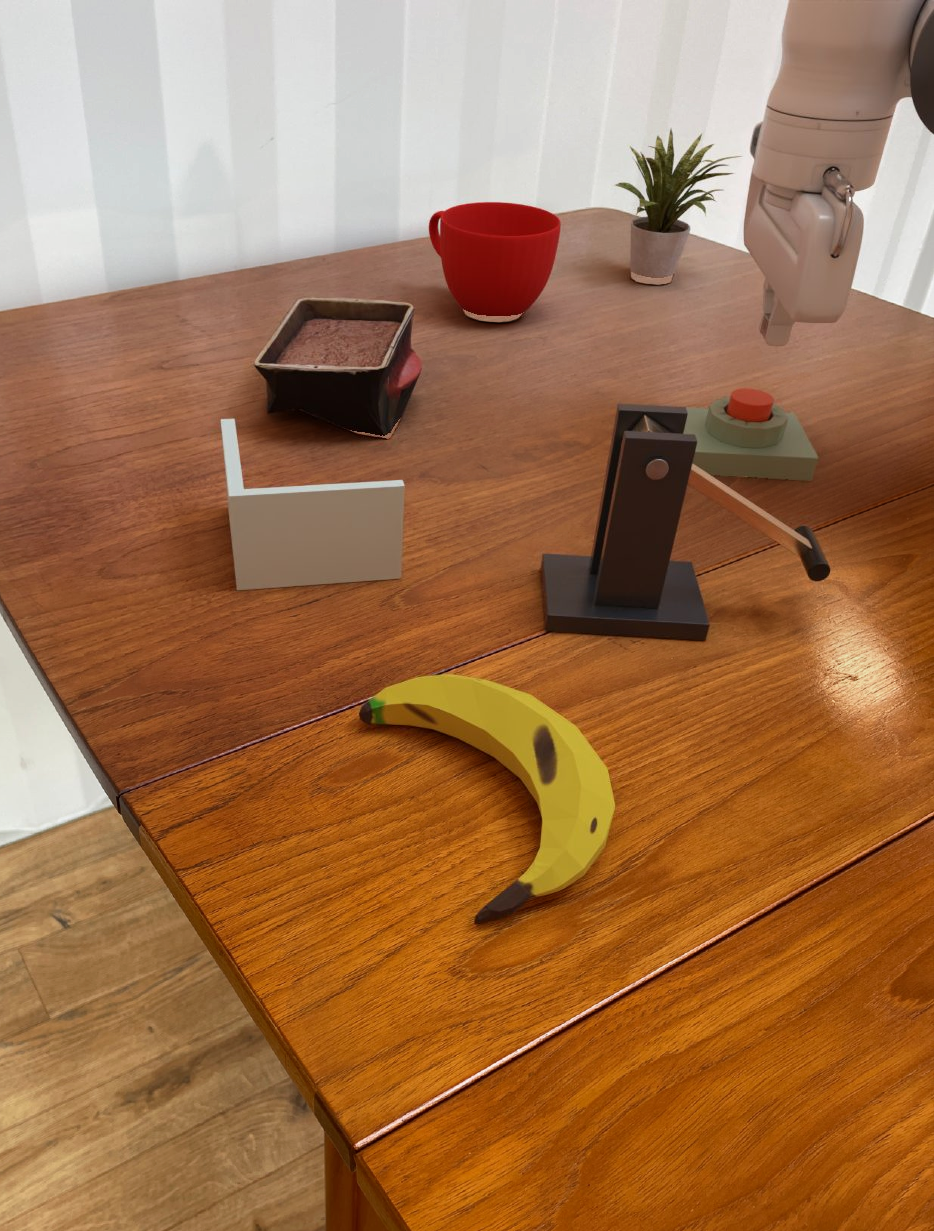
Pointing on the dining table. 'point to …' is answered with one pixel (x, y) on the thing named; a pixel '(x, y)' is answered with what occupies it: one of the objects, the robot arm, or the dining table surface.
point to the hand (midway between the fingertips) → (772, 339)
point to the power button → (750, 405)
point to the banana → (517, 769)
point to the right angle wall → (311, 529)
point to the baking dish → (343, 362)
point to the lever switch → (755, 515)
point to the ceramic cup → (495, 254)
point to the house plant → (666, 207)
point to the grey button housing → (750, 444)
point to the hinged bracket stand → (633, 541)
